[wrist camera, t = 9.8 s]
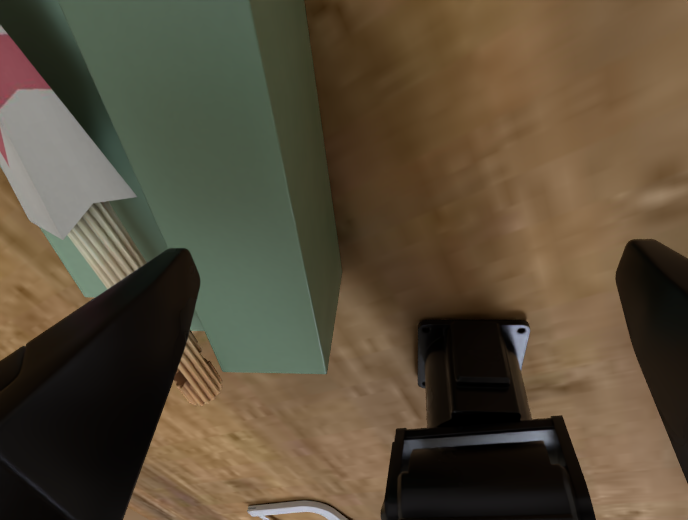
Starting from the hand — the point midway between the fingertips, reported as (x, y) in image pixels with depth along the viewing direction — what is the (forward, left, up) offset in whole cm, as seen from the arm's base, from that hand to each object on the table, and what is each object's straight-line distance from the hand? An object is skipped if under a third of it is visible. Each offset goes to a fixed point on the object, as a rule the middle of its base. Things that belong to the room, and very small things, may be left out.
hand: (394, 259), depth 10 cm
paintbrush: (-2, +10, -6) cm, 12 cm away
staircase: (-2, +11, -12) cm, 16 cm away
